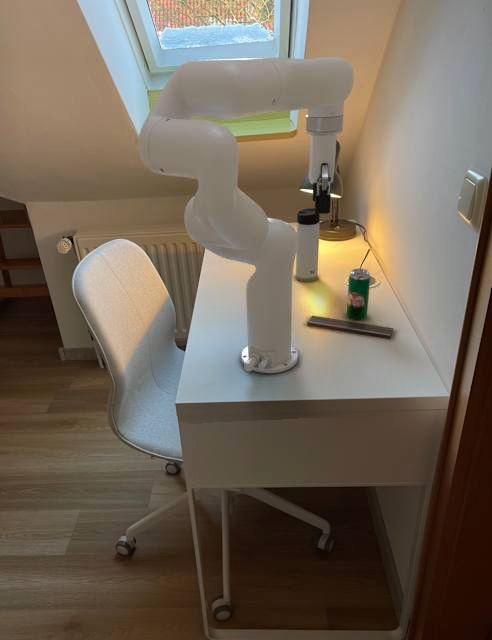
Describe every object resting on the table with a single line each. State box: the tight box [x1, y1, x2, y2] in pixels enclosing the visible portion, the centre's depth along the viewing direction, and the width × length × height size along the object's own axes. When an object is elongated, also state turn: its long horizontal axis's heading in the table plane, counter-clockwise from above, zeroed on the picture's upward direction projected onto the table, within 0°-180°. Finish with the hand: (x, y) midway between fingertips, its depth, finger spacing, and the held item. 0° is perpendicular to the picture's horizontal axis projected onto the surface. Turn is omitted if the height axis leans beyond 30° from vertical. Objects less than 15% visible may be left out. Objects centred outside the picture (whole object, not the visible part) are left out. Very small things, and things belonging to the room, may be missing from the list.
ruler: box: [306, 315, 394, 340], centre depth 132 cm, size 4×20×1 cm, turn 65°
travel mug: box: [295, 207, 321, 283], centre depth 154 cm, size 6×7×20 cm
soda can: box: [345, 268, 372, 321], centre depth 134 cm, size 5×5×12 cm
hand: (320, 206), depth 122 cm, fingers open, 9 cm apart
